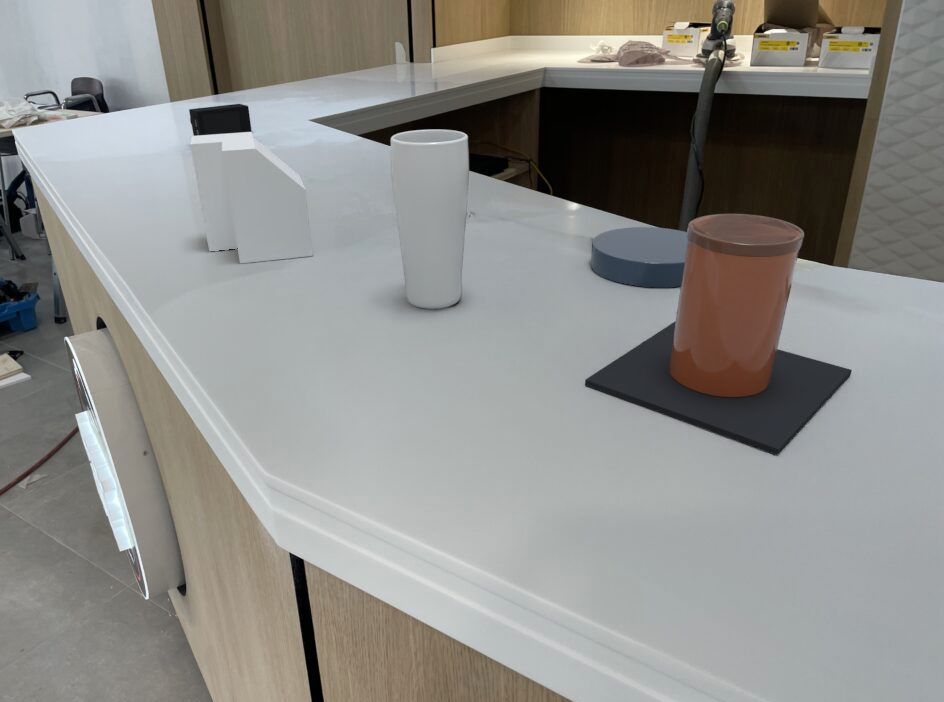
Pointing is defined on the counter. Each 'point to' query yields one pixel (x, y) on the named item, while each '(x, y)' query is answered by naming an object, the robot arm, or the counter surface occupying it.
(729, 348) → the canister
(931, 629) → the counter surface
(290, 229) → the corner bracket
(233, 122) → the digital camera
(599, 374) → the mat
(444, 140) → the drinking glass
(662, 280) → the dish
